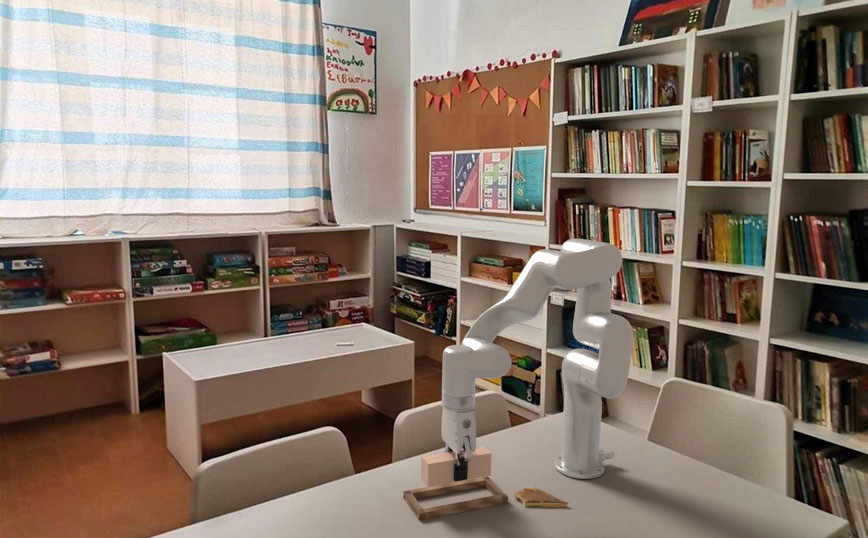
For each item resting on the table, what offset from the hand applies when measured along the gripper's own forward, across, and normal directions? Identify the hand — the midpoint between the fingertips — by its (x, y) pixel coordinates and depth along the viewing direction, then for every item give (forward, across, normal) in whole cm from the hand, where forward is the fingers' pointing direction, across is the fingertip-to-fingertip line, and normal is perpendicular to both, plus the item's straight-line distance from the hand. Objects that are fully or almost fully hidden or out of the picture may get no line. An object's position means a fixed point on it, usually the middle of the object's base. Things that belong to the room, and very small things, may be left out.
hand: (456, 474), depth 148 cm
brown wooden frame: (+6, 0, 0) cm, 6 cm away
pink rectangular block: (+1, 0, 0) cm, 1 cm away
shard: (+7, -6, -19) cm, 21 cm away
